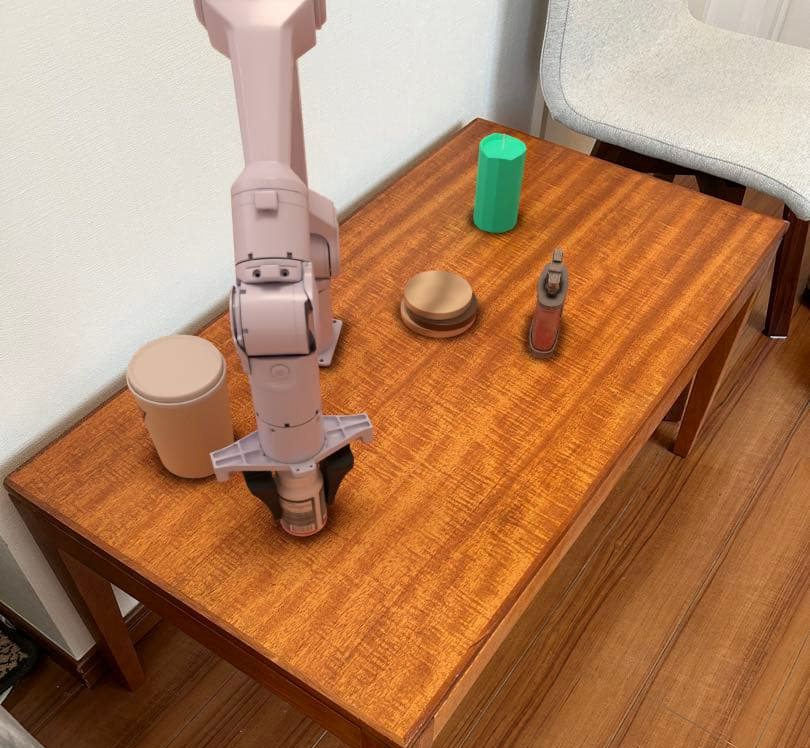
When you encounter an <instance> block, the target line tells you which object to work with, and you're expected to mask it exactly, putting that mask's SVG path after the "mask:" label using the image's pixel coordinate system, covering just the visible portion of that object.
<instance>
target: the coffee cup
mask: <svg viewBox="0 0 810 748" xmlns="http://www.w3.org/2000/svg"><path fill="white" fill-rule="evenodd" d="M227 369H228V368H227V361H226V359H225V356H224V355H223V354H222V352H221V351H220V350H219V349H218V348H217V347H216V346H215V344H213V343H212V342H210V341H209V340H207V339H205V338H202V337H200V336H197V335H190V334H171V335H170V334H169V335H166V336H162V337H158V338H155V339H153V340H151V341H148V342H147V343H146V344H144V345H143V346H141V347H140V348H139V349H137V350H136V351H135V352H134V353H133V354H132V357H131V358H130V359H129V362H128V366H127V368H126V374H125V380H126V384H127V387H128V389H129V391H130V393H131V394H132V395H133V398H134V401H135V403H136V406H137V408H138V410H139V413H140V415H141V418H142V420H143V422H144V425H145V427H146V429H147V431H148V434H149V436H150V438H151V441H152V444H153V445H154V449H155V450H156V452H157V454H158V456H159V458H160V461H161V463H162V465H163V466H164V467H165V468H166V470H168V471H169V472H170V473H172V474H173V475H175V476H178V477H181V478H186V479H200V478H201V479H202V478H206V477H209V476H212V475H215V472H214V469H213V465H212V461H211V457H210V453H212V452H215V451H218V450H221V449H223V448H225V447H227V446H229V445H231V444H233V443H235V439H234V430H233V419H232V410H231V402H230V396H229V395H230V394H229V386H228V378H227V371H228V370H227Z"/></svg>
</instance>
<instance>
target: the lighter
mask: <svg viewBox="0 0 810 748" xmlns="http://www.w3.org/2000/svg"><path fill="white" fill-rule="evenodd" d="M564 254H565V253H564V250H563V249H562V248H555V249H554V250H553V252H552V255H551V262H547V263H546V264H544V266H543V267H542V270H541V272H540V275H539V278H538V282H537V289H536V304H535V308H534V316H533V318H532V321H531V324H530V327H529V333H528V334H529V335H528V344H529V345H528V347H529V352H530V355H532V356H533V357H535V358H539V359H547V358H550V357H551V356H552V355H553V353H554V351H555V348H556V346H557V343H558V338H559V333H560V321H561V319H562V316H563V313H564V308H565V304H566V299H567V298H566V297H567V294H568V290H569V280H570V278H569V271H568V267H567V266H566V265H565V264H563V260H564Z"/></svg>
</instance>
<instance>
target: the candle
mask: <svg viewBox="0 0 810 748" xmlns="http://www.w3.org/2000/svg"><path fill="white" fill-rule="evenodd" d="M526 156H527V145H526V143H525V142H523V141H522V140H520V139H519V138H516V137H514V136H511V135H508V134H506V133H498V132H493V133H491V134H489V135H487V136H484V137H483V138H482V139H481V141H480V142H479V147H478V158H477V169H476V182H475V193H474V203H473V204H474V205H473V216H472V217H473V224H474V225H475V226H476V227H477V228H479V229H480V230H481V231H483V232H488V233H491V234H493V233H494V234H495V233H499V234H500V233H506V232H508V231H512V230H513V229H514V227H515V226H516V225H517V224H518V216H519V209H520V203H521V202H520V201H521V194H522V186H523V179H524V172H525V164H526V158H527V157H526Z"/></svg>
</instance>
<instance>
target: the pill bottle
mask: <svg viewBox="0 0 810 748" xmlns="http://www.w3.org/2000/svg"><path fill="white" fill-rule="evenodd" d="M273 478H274V481H275V483H276V486H277V501H278V505H279V509H280V512H281V518H282V519H279V520H278V521H279V522H280V525H281V527H282V529H284V531H286V532H287V533H288V534H290V535H293V536H296V537H308V536H311V535H314V534H316V533H318V532H319V531H321V530H322V529H323V528H324V527H325V525H326V522H327V519H328V509H327V504H326V498H325V489H324V479H323V475H322V472H321V470H320V469H319V462H317V463H316V472H315V473H314V474H312V475H308V476H305V477H301V478H296V477H294V476H293V474H292V472H291V471H274V474H273Z"/></svg>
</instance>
